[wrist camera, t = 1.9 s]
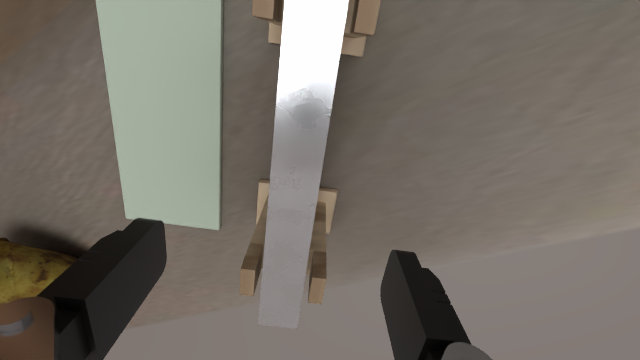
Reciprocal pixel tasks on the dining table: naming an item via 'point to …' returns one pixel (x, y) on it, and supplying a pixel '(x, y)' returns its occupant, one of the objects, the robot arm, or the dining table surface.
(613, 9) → the dining table surface
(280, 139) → the rail
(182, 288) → the dining table surface
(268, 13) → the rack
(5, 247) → the potato
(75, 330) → the robot arm
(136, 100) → the mat
